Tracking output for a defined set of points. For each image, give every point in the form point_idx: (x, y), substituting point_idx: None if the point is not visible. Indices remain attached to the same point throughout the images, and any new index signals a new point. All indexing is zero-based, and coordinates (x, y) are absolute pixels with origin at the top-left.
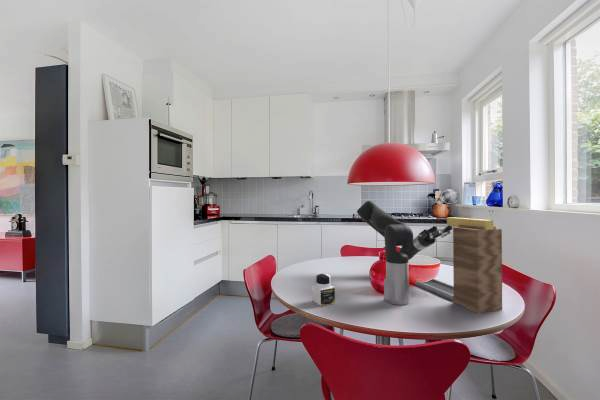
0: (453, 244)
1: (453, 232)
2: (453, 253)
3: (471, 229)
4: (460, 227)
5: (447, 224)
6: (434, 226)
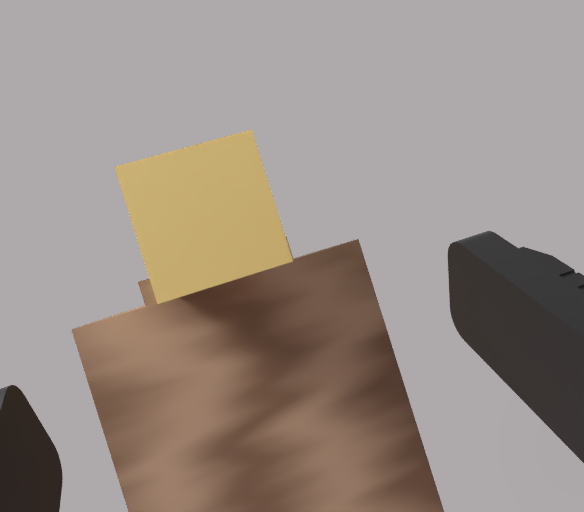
0: (409, 402)
1: (372, 288)
2: (436, 490)
3: (313, 252)
4: (299, 257)
5: (286, 246)
6: (493, 247)
